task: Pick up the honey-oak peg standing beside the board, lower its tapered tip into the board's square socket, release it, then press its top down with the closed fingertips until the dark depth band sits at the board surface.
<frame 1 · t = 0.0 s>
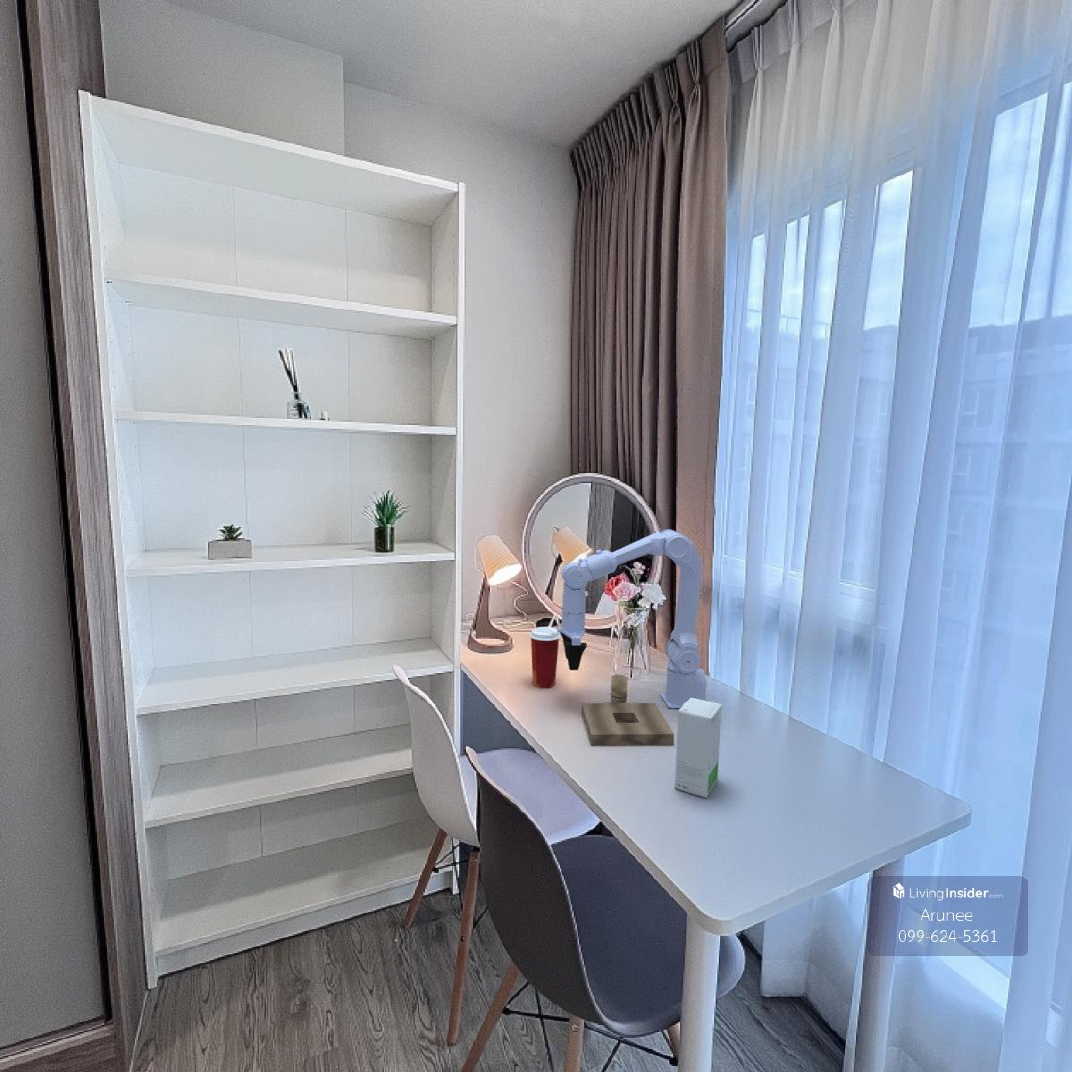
hand: (571, 664, 148), 10 cm above the table, fingers open, 7 cm apart
coffee cup: (543, 684, 161), on the table
board: (624, 728, 136), on the table
peg: (618, 704, 149), on the table
skincare box: (695, 784, 114), on the table
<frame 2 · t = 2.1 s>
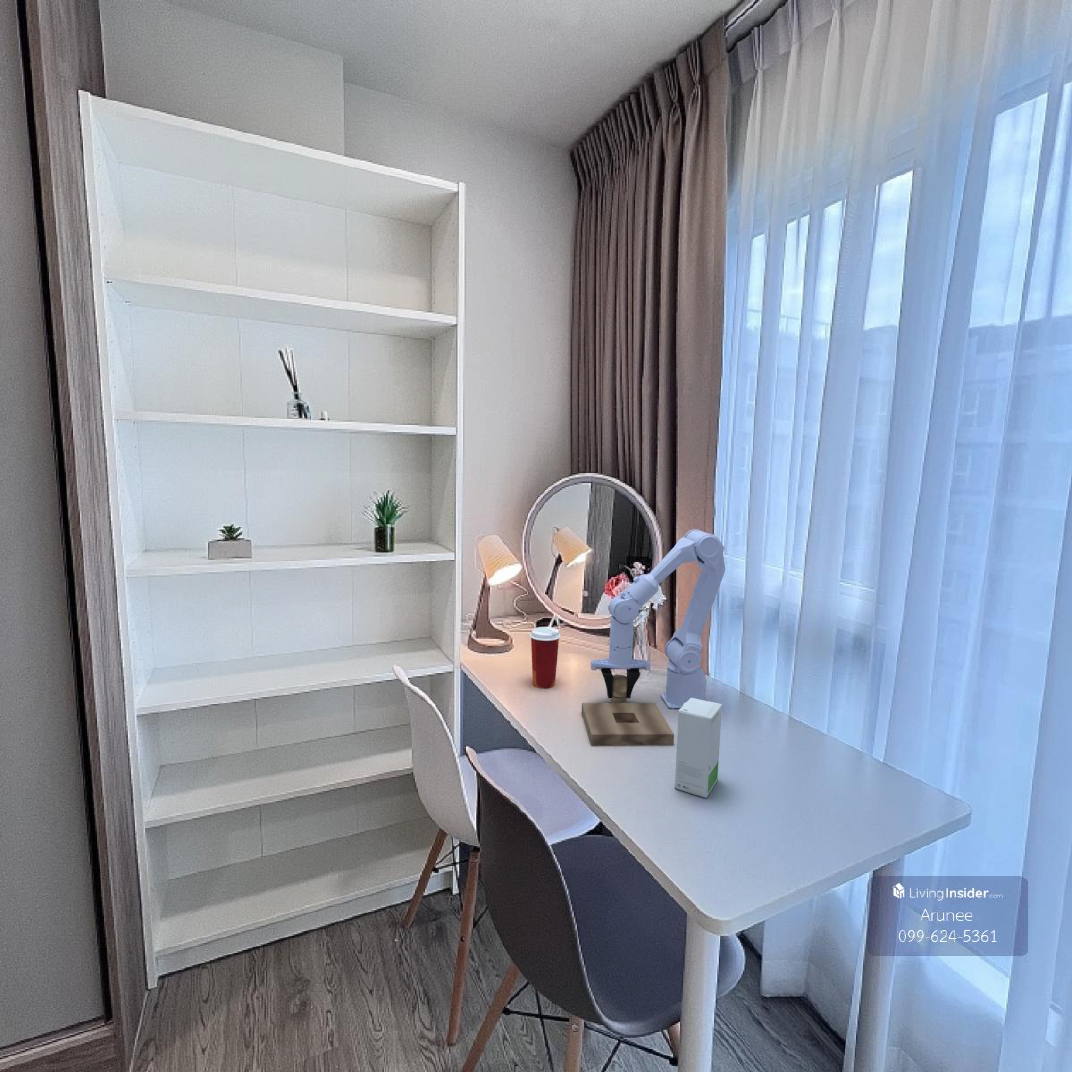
hand: (618, 696, 149), 2 cm above the table, fingers closed on peg, 4 cm apart
peg: (618, 704, 149), on the table, touching gripper
everything else where it was.
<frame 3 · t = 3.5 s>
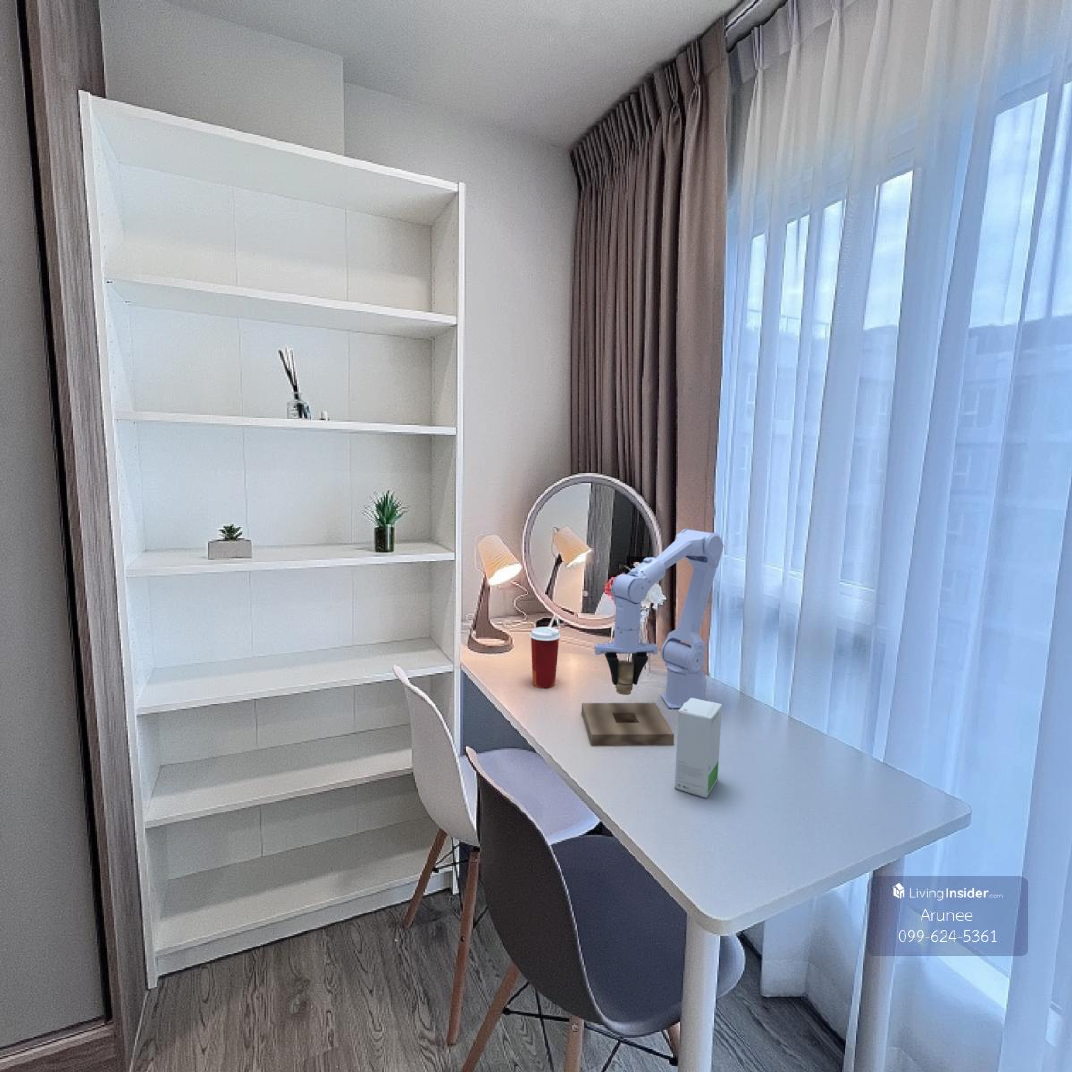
hand: (624, 683, 138), 9 cm above the table, fingers closed on peg, 4 cm apart
peg: (623, 692, 138), point 7 cm above the table, touching gripper
everything else where it was.
when the fingers open (4 cm above the table, at t = 5.3 s): peg drops 1 cm, resting in board.
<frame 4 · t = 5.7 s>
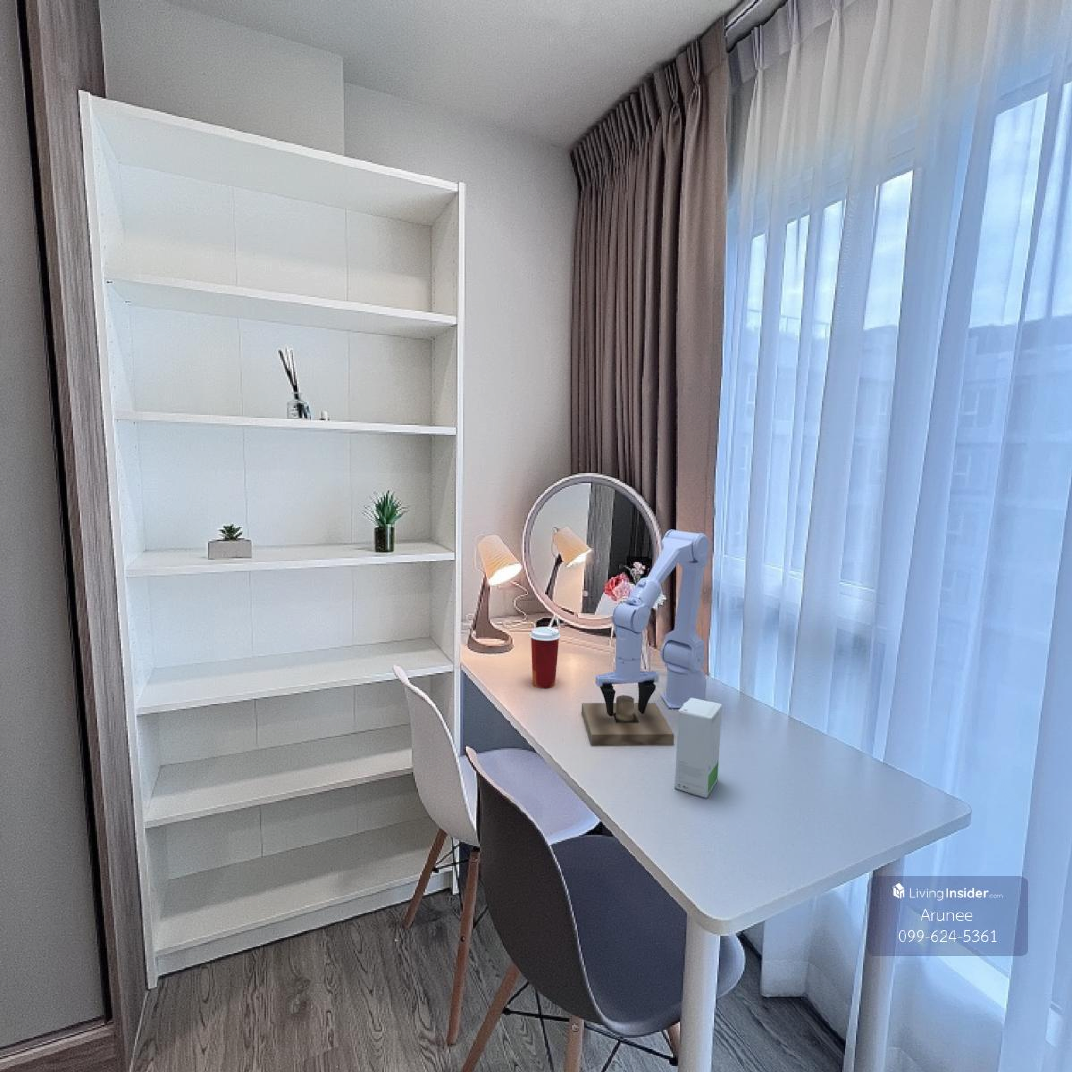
hand: (625, 713, 135), 4 cm above the table, fingers open, 7 cm apart
peg: (624, 727, 136), resting in board
everything else where it was.
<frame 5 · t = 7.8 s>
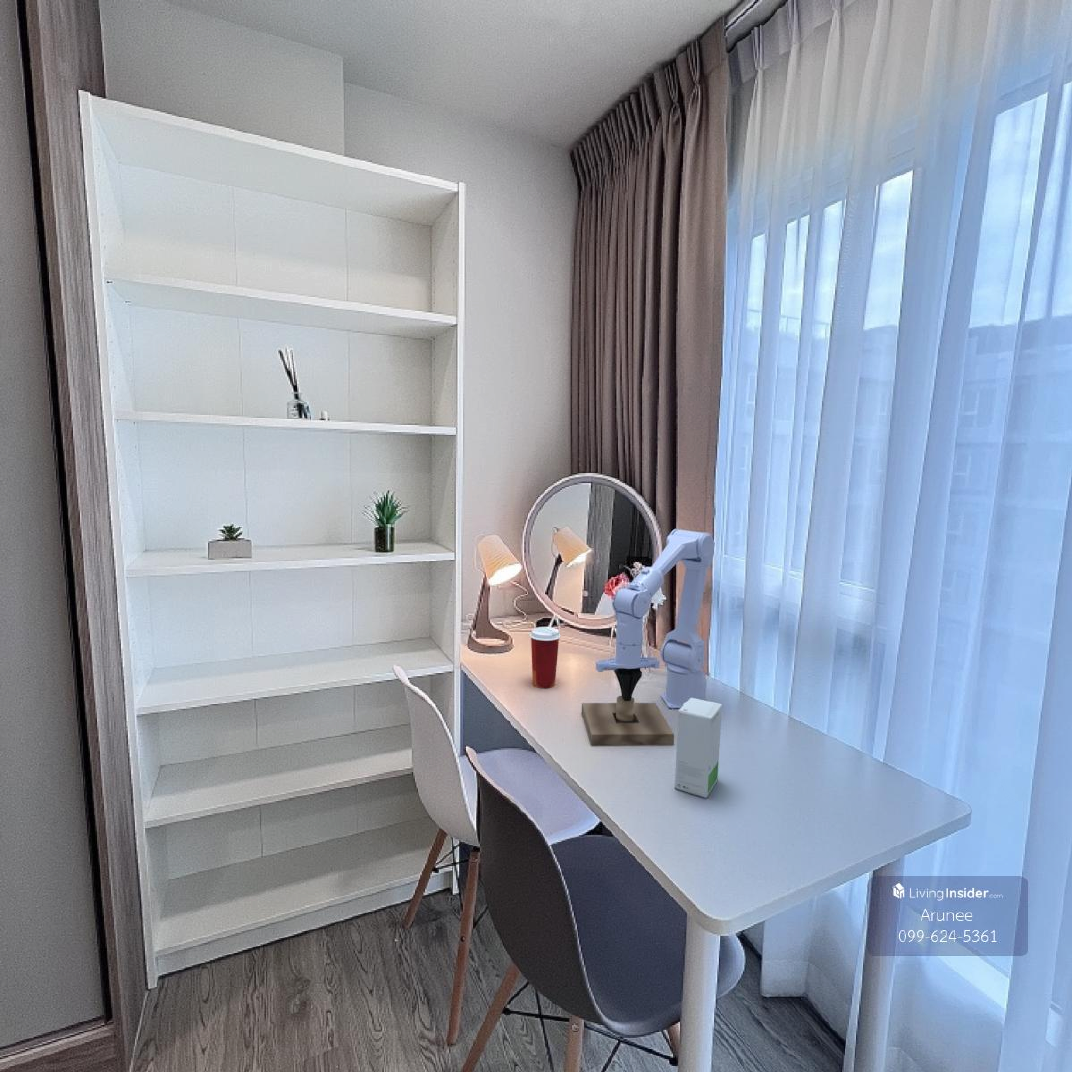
hand: (626, 699, 135), 7 cm above the table, fingers closed, pressing on peg
peg: (624, 727, 136), resting in board, touching gripper
everything else where it was.
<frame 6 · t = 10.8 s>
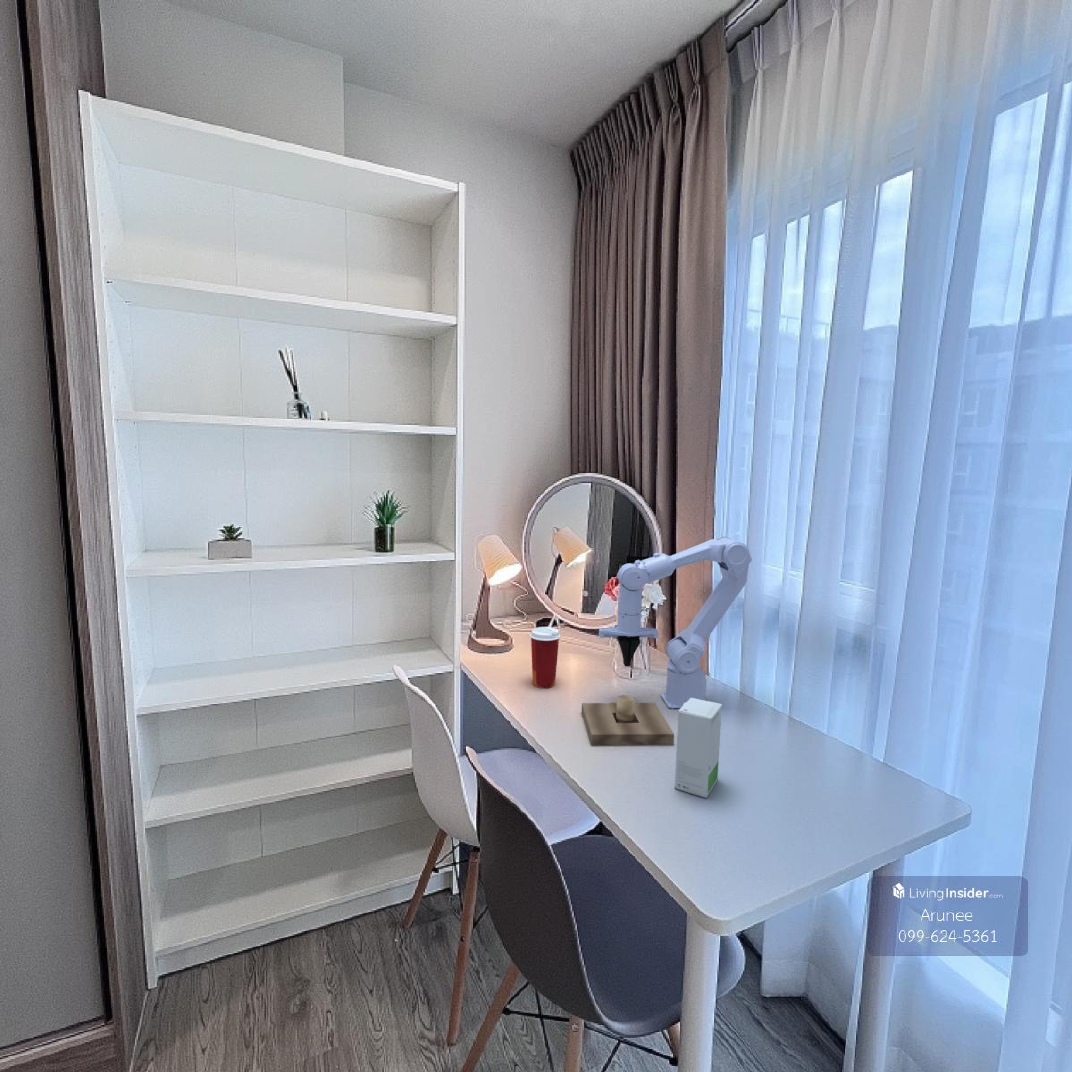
hand: (626, 664, 148), 10 cm above the table, fingers closed
peg: (624, 727, 136), resting in board
everything else where it was.
at the end: peg 0.1 cm off-centre on the board, point 0.0 cm above the board's base; peg tilted 0°; the gripper is holding nothing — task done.
